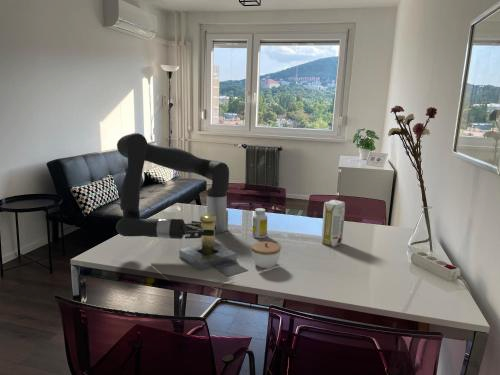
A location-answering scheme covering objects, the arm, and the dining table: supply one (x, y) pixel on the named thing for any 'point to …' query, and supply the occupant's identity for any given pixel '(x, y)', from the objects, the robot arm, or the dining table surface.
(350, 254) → the dining table surface
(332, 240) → the juice carton
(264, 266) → the lidded jar
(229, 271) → the rubber mat
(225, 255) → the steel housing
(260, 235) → the supplement bottle
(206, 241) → the brass plug
